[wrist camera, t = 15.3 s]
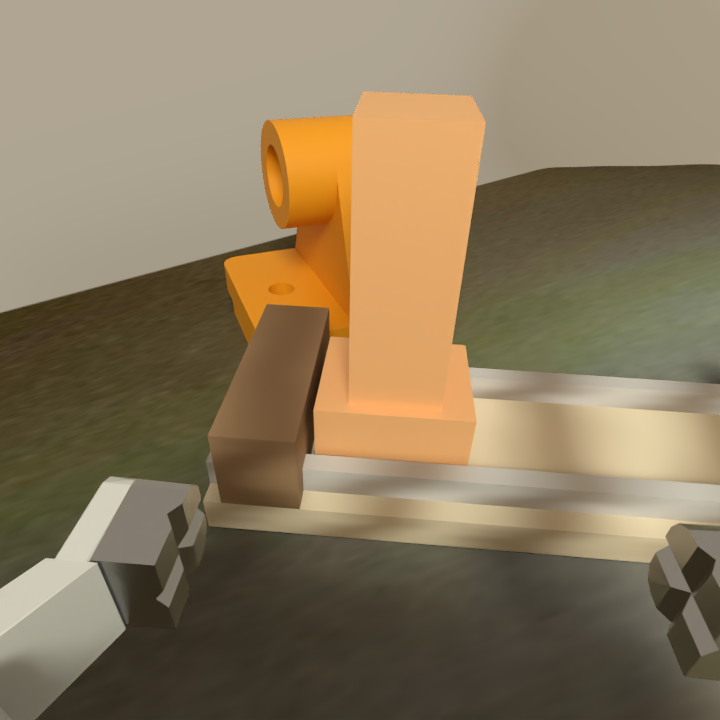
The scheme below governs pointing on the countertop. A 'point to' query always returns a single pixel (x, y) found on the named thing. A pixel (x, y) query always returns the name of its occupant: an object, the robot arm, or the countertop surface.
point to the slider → (405, 285)
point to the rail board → (486, 462)
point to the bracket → (302, 224)
